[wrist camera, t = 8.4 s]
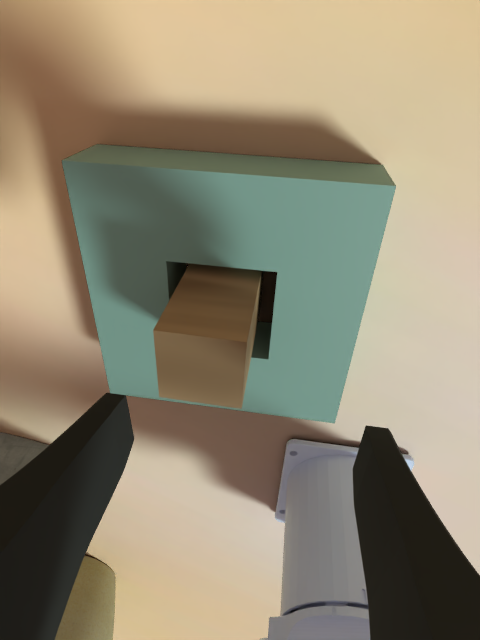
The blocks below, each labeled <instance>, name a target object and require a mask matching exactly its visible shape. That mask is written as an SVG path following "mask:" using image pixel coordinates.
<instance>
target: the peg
mask: <svg viewBox="0 0 480 640" xmlns="http://www.w3.org/2000/svg"><path fill="white" fill-rule="evenodd" d="M263 274H264V271H261V270H251V269H241V268H231V267H221V266H211V265H201V264H191V263H190V264H189V266H188V267H187V269H186V271H185V273H184V275H183V277H182V278H181V280H180V282H179V284H178V286H177V287H176V289H175V291H174V293H173V295H172V297H171V298H170V300H169V302H168V304H167V306H166V308H165V309H164V311H163V313H162V315H161V317H160V318H159V320H158V322H157V324H156V326H155V328H154V329H153V335H154V346H155V357H156V368H157V379H158V390H159V397H162V398H169V399H176V400H183V401H190V402H197V403H204V404H211V405H218V406H224V407H231V408H238V409H242V404H243V399H244V393H245V388H246V382H247V377H248V372H249V366H250V361H251V355H252V350H253V345H254V339H255V334H256V328H257V323H258V317H259V312H260V305H261V294H262V284H263Z"/></svg>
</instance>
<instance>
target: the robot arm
mask: <svg viewBox="0 0 480 640" xmlns="http://www.w3.org/2000/svg"><path fill="white" fill-rule="evenodd" d="M133 441H134V435H133V430H132V425H131V419H130V414H129V409H128V404H127V399H126V395H120V394H112V393H106V394H105V395H104V396H102V397H101V398H100V399H99V400H98V401H97V402H96V403H95V404H94V405H93V406H92V407H91V408H90V409H89V410H88V411H87V412H85V413H84V414H83V415H82V416H81V417H80V418H79V419H78V420H77V421H76V422H75V423H74V424H73V425H71V426H70V427H69V428H68V429H67V430H66V431H65V432H64V433H63V434H61V435H60V436H59V437H58V438H57V439H56V440H55V441H54V442H53V443H51V444H50V445H49V446H48V447H47V448H46V449H45V450H43V451H42V452H41V453H40V454H39V455H37V456H36V457H35V458H34V459H32V460H31V461H30V462H29V463H28V464H26V465H25V466H24V467H23V468H21V469H20V470H19V471H18V472H17V473H15V474H14V475H13V476H11V477H10V478H9V479H7V480H6V481H5V482H3V483H2V484H1V485H0V640H55V637H56V634H57V631H58V628H59V625H60V622H61V619H62V617H63V614H64V611H65V608H66V605H67V602H68V599H69V596H70V593H71V591H72V588H73V585H74V582H75V580H76V577H77V574H78V572H79V569H80V566H81V563H82V561H83V558H84V556H85V553H86V551H87V549H88V546H89V544H90V542H91V539H92V537H93V535H94V533H95V531H96V529H97V527H98V525H99V522H100V520H101V518H102V516H103V514H104V512H105V510H106V508H107V506H108V503H109V501H110V499H111V497H112V495H113V493H114V491H115V489H116V486H117V484H118V482H119V480H120V478H121V476H122V473H123V471H124V468H125V466H126V463H127V460H128V457H129V454H130V451H131V448H132V444H133ZM413 466H414V460H413V458H412V457H411V456H410V455H406V454H402V453H401V451H400V449H399V448H398V446H397V444H396V442H395V440H394V438H393V436H392V434H391V432H390V430H389V429H388V428H380V427H373V426H366V427H365V430H364V434H363V437H362V440H361V443H360V447H359V448H356V447H349V446H341V445H334V444H327V443H320V442H313V441H305V440H298V439H291V440H289V441H288V442H287V445H286V451H285V457H284V463H283V469H282V475H281V482H280V488H279V494H278V500H277V506H276V512H275V519H276V520H277V521H279V522H284V523H285V533H284V553H283V573H282V593H281V613H280V616H279V617H270V618H269V630H268V638H262V639H260V640H480V575H479V574H478V573H477V571H476V570H475V569H474V567H473V566H472V565H471V563H470V562H469V561H468V559H467V558H466V556H465V555H464V554H463V552H462V551H461V549H460V548H459V547H458V545H457V544H456V542H455V541H454V539H453V538H452V536H451V535H450V533H449V532H448V530H447V529H446V527H445V526H444V524H443V523H442V521H441V520H440V518H439V517H438V515H437V514H436V512H435V510H434V509H433V507H432V506H431V504H430V502H429V501H428V499H427V497H426V496H425V494H424V492H423V491H422V489H421V487H420V486H419V484H418V482H417V481H416V479H415V477H414V475H413V474H412V472H411V470H412V468H413Z"/></svg>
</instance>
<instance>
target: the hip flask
mask: <svg viewBox="0 0 480 640" xmlns="http://www.w3.org/2000/svg"><path fill="white" fill-rule="evenodd" d="M48 446H49V445H47V444H44V443H40V442H37V441H33V440H30V439H26V438H22V437H19V436H15V435H11V434H7V433H2V432H0V485H1V484H2V483H3V482H5V481H6V480H7V479H9V478H10V477H11V476H13V475H14V474H15V473H17V472H18V471H19V470H20V469H21V468H23V467H24V466H25V465H26V464H28V463H29V462H30V461H31V460H32V459H34V458H35V457H36V456H37V455H39V454H40V453H41V452H42V451H43V450H45V449H46V448H47V447H48Z"/></svg>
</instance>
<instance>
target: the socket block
mask: <svg viewBox="0 0 480 640" xmlns="http://www.w3.org/2000/svg"><path fill="white" fill-rule="evenodd" d="M62 165H63V170H64V174H65V179H66V184H67V189H68V193H69V198H70V203H71V208H72V213H73V217H74V222H75V227H76V232H77V237H78V241H79V246H80V251H81V256H82V260H83V265H84V270H85V275H86V280H87V284H88V289H89V294H90V299H91V303H92V308H93V313H94V318H95V323H96V327H97V332H98V337H99V342H100V346H101V351H102V356H103V361H104V366H105V370H106V375H107V380H108V385H109V389H110V393H113V394H120V395H127V396H135V397H142V398H150V399H157V400H165V401H172V402H180V403H187V404H194V405H202V406H209V407H217V408H224V409H232V410H239V411H247V412H254V413H261V414H269V415H276V416H284V417H291V418H299V419H306V420H314V421H321V422H329V423H335V420H336V416H337V412H338V408H339V405H340V401H341V397H342V393H343V389H344V385H345V381H346V378H347V374H348V370H349V366H350V362H351V358H352V354H353V350H354V347H355V343H356V339H357V335H358V331H359V327H360V323H361V320H362V316H363V312H364V308H365V304H366V300H367V296H368V293H369V289H370V285H371V281H372V277H373V273H374V269H375V266H376V262H377V258H378V254H379V250H380V246H381V242H382V238H383V235H384V231H385V227H386V223H387V219H388V215H389V211H390V208H391V204H392V200H393V196H394V192H395V188H396V185H395V184H394V182H393V180H392V179H391V177H390V176H389V174H388V173H387V171H386V169H385V168H384V166H383V165H379V164H365V163H351V162H337V161H324V160H310V159H296V158H282V157H268V156H254V155H241V154H227V153H213V152H199V151H185V150H171V149H158V148H144V147H130V146H116V145H102V144H96V145H94V146H92V147H90V148H87V149H85V150H83V151H81V152H79V153H77V154H74V155H72V156H70V157H68V158H66V159H63V160H62ZM186 263H191V264H201V265H211V266H221V267H231V268H241V269H251V270H261V271H271V272H277V280H276V290H275V300H274V310H273V319H272V323H267V322H259V321H258V323H257V328H256V334H255V339H254V345H253V350H252V355H251V361H250V366H249V372H248V377H247V382H246V388H245V393H244V399H243V404H242V409H238V408H231V407H224V406H218V405H211V404H204V403H197V402H190V401H183V400H176V399H169V398H162V397H159V390H158V379H157V368H156V357H155V346H154V335H153V329H154V328H155V326H156V324H157V322H158V320H159V318H160V317H161V315H162V313H163V311H164V309H165V308H166V306H167V304H168V302H169V300H170V298H171V297H172V295H173V293H174V291H175V289H176V287H177V286H178V284H179V282H180V280H181V278H182V277H183V275H184V273H185V271H186Z"/></svg>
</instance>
